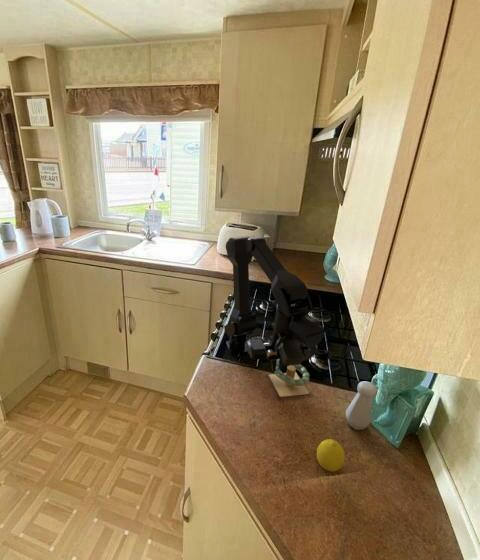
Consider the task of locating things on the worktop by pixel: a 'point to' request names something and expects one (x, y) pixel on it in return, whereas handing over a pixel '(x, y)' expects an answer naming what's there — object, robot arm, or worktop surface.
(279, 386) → the stand
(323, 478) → the worktop surface
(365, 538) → the worktop surface
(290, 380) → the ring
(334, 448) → the lemon
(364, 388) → the salt shaker
